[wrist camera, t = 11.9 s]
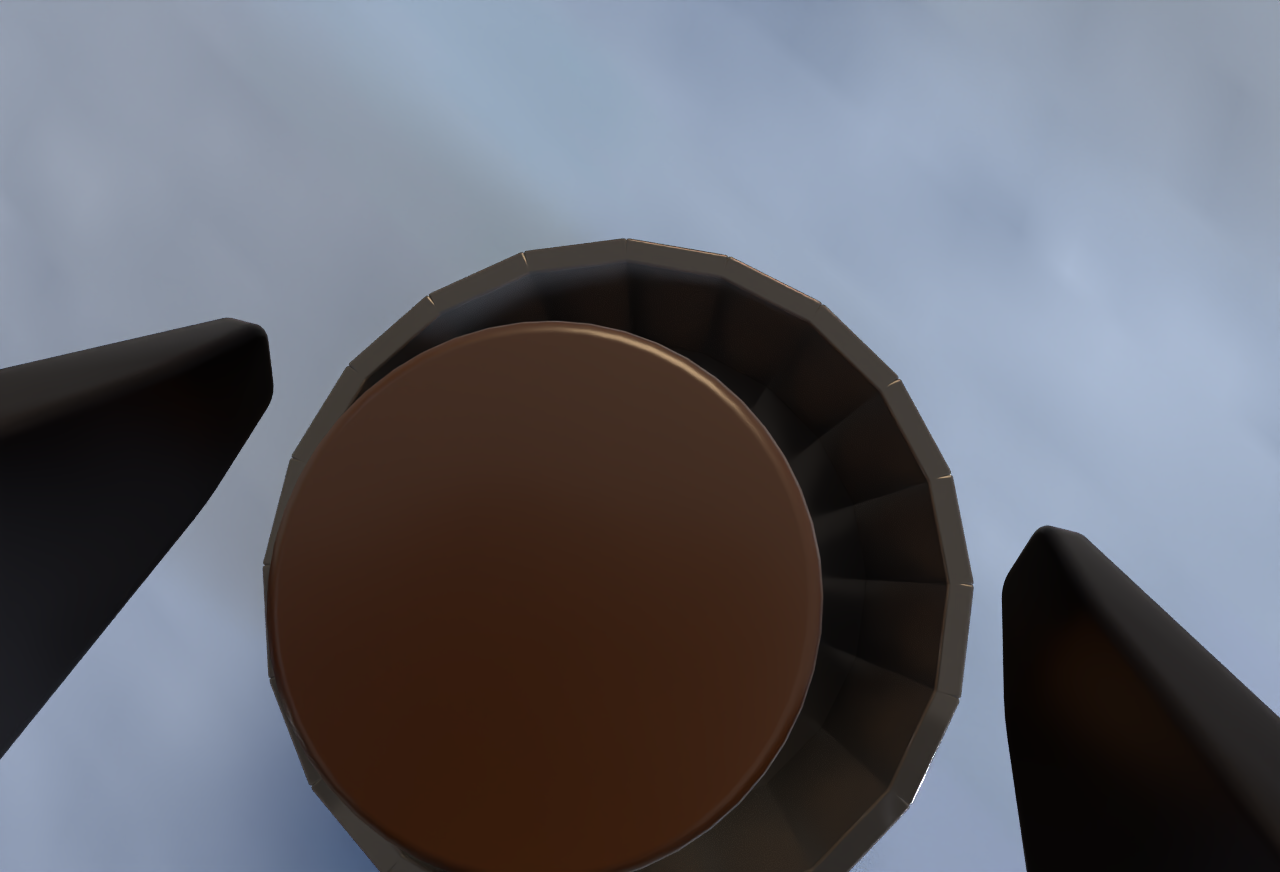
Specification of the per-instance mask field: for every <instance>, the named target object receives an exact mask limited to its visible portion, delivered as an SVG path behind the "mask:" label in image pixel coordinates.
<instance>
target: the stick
mask: <svg viewBox="0 0 1280 872" xmlns="http://www.w3.org/2000/svg"><path fill="white" fill-rule="evenodd" d="M822 612H823V585H822V572H821V559H820V554H819V549H818V544H817V539H816V535H815V530H814V525H813V521H812V518H811V516H810V513H809V510H808V507H807V504H806V501H805V498H804V495H803V492H802V489H801V487H800V485H799V483H798V481H797V479H796V477H795V475H794V473H793V471H792V469H791V467H790V465H789V463H788V461H787V459H786V457H785V455H784V454H783V452H782V451H781V449H780V448H779V446H778V445H777V443H776V442H775V440H774V439H773V437H772V436H771V434H770V433H769V431H768V430H767V429H766V427H765V426H764V425H763V424H762V423H761V421H760V420H759V419H758V418H757V417H756V416H755V414H754V413H753V412H752V411H751V410H750V409H749V408H748V406H747V405H746V404H745V403H744V402H743V401H742V400H741V399H740V398H739V397H738V396H737V395H735V394H734V393H733V392H732V391H731V390H730V389H729V388H728V387H726V386H725V385H724V384H723V383H722V382H721V381H720V380H719V379H717V378H716V377H715V376H713V375H712V374H710V373H709V372H707V371H706V370H704V369H703V368H702V367H700V366H699V365H697V364H696V363H694V362H693V361H691V360H690V359H688V358H686V357H685V356H683V355H681V354H679V353H677V352H675V351H673V350H671V349H669V348H667V347H665V346H663V345H661V344H659V343H657V342H654V341H651V340H648V339H646V338H643V337H640V336H637V335H634V334H631V333H629V332H626V331H622V330H617V329H613V328H608V327H603V326H599V325H594V324H587V323H576V322H564V321H541V322H521V323H515V324H509V325H503V326H497V327H491V328H486V329H483V330H480V331H476V332H473V333H470V334H466V335H463V336H460V337H456V338H454V339H452V340H449V341H447V342H445V343H442V344H440V345H438V346H436V347H433V348H431V349H429V350H427V351H424V352H422V353H421V354H419V355H417V356H416V357H414V358H412V359H411V360H409V361H407V362H406V363H404V364H402V365H401V366H399V367H397V368H396V369H394V370H393V371H391V372H390V373H389V374H387V375H386V376H385V377H384V378H382V379H381V380H380V381H378V382H377V383H376V384H375V385H373V386H372V387H371V388H369V389H368V390H367V391H366V392H364V393H363V394H362V395H361V396H360V397H359V398H358V399H357V400H356V401H355V402H354V403H353V404H352V405H351V406H350V407H349V409H348V410H347V411H346V412H345V413H344V414H343V415H342V416H341V417H340V418H339V419H338V420H337V421H336V423H335V424H334V425H333V426H332V428H331V429H330V430H329V432H328V433H327V434H326V435H325V437H324V438H323V439H322V441H321V442H320V443H319V444H318V446H317V447H316V449H315V451H314V452H313V454H312V456H311V457H310V459H309V461H308V462H307V464H306V466H305V467H304V469H303V471H302V472H301V474H300V476H299V478H298V480H297V482H296V484H295V487H294V489H293V491H292V494H291V496H290V498H289V500H288V503H287V505H286V507H285V509H284V513H283V516H282V519H281V523H280V526H279V529H278V533H277V536H276V539H275V543H274V547H273V553H272V559H271V565H270V571H269V577H268V591H267V629H268V640H269V651H270V658H271V662H272V667H273V671H274V675H275V680H276V684H277V689H278V692H279V695H280V698H281V701H282V703H283V706H284V709H285V711H286V714H287V717H288V719H289V722H290V725H291V727H292V729H293V731H294V733H295V735H296V737H297V738H298V740H299V742H300V744H301V746H302V748H303V750H304V752H305V754H306V755H307V757H308V759H309V761H310V762H311V763H312V765H313V766H314V768H315V769H316V770H317V772H318V773H319V775H320V776H321V777H322V779H323V780H324V781H325V783H326V784H327V786H328V787H329V788H330V790H331V791H332V792H333V793H334V794H335V795H336V796H337V797H338V798H339V799H340V800H341V801H342V802H343V803H344V805H345V806H346V807H347V808H348V809H349V810H350V811H351V812H352V813H353V814H354V815H355V816H356V817H357V818H358V819H360V820H361V821H362V822H363V823H365V824H366V825H367V826H368V827H370V828H371V829H372V830H373V831H375V832H376V833H377V834H378V835H380V836H381V837H382V838H384V839H385V840H386V841H388V842H389V843H391V844H393V845H395V846H396V847H398V848H400V849H401V850H403V851H405V852H407V853H408V854H410V855H412V856H413V857H415V858H417V859H418V860H420V861H423V862H425V863H428V864H430V865H433V866H435V867H438V868H440V869H442V870H445V871H447V872H633V871H636V870H639V869H642V868H645V867H647V866H649V865H651V864H653V863H655V862H657V861H659V860H661V859H663V858H665V857H667V856H669V855H671V854H673V853H675V852H677V851H679V850H681V849H682V848H684V847H685V846H687V845H688V844H690V843H691V842H693V841H694V840H696V839H697V838H699V837H700V836H702V835H703V834H705V833H706V832H708V831H709V830H711V829H712V828H713V827H714V826H715V825H716V824H717V823H718V822H720V821H721V820H722V819H723V818H724V817H725V816H726V815H727V814H729V813H730V812H731V811H732V810H733V809H734V808H735V807H736V806H738V805H739V804H740V803H741V802H742V800H743V799H744V798H745V797H746V796H747V795H748V793H749V792H750V791H751V790H752V789H753V788H754V786H755V785H756V784H757V783H758V782H759V781H760V779H761V778H762V777H763V776H764V775H765V773H766V772H767V770H768V769H769V767H770V766H771V764H772V763H773V761H774V760H775V758H776V757H777V755H778V753H779V752H780V750H781V749H782V747H783V746H784V744H785V743H786V741H787V739H788V737H789V735H790V733H791V730H792V728H793V726H794V724H795V722H796V720H797V718H798V716H799V714H800V712H801V709H802V707H803V704H804V701H805V698H806V695H807V692H808V689H809V686H810V683H811V680H812V677H813V674H814V670H815V665H816V659H817V654H818V649H819V643H820V638H821V630H822Z"/></svg>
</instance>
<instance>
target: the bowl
mask: <svg viewBox="0 0 1280 872" xmlns="http://www.w3.org/2000/svg"><path fill="white" fill-rule="evenodd" d="M541 321H564V322H576V323H587V324H594V325H599V326H603V327H608V328H613V329H617V330H622V331H626V332H629V333H631V334H634V335H637V336H640V337H643V338H646V339H648V340H651V341H654V342H657V343H659V344H661V345H663V346H665V347H667V348H669V349H671V350H673V351H675V352H677V353H679V354H681V355H683V356H685V357H686V358H688V359H690V360H691V361H693V362H694V363H696V364H697V365H699V366H700V367H702V368H703V369H704V370H706V371H707V372H709V373H710V374H712V375H713V376H715V377H716V378H717V379H719V380H720V381H721V382H722V383H723V384H724V385H725V386H726V387H728V388H729V389H730V390H731V391H732V392H733V393H734V394H735V395H737V396H738V397H739V398H740V399H741V400H742V401H743V402H744V403H745V404H746V405H747V406H748V408H749V409H750V410H751V411H752V412H753V413H754V414H755V416H756V417H757V418H758V419H759V420H760V421H761V423H762V424H763V425H764V426H765V427H766V429H767V430H768V431H769V433H770V434H771V436H772V437H773V439H774V440H775V442H776V443H777V445H778V446H779V448H780V449H781V451H782V452H783V454H784V455H785V457H786V459H787V461H788V463H789V465H790V467H791V469H792V471H793V473H794V475H795V477H796V479H797V481H798V483H799V485H800V487H801V489H802V492H803V495H804V498H805V501H806V504H807V507H808V510H809V513H810V516H811V518H812V521H813V525H814V530H815V535H816V539H817V544H818V549H819V554H820V559H821V572H822V585H823V612H822V630H821V638H820V643H819V649H818V654H817V659H816V665H815V670H814V674H813V677H812V680H811V683H810V686H809V689H808V692H807V695H806V698H805V701H804V704H803V707H802V709H801V712H800V714H799V716H798V718H797V720H796V722H795V724H794V726H793V728H792V730H791V733H790V735H789V737H788V739H787V741H786V743H785V744H784V746H783V747H782V749H781V750H780V752H779V753H778V755H777V757H776V758H775V760H774V761H773V763H772V764H771V766H770V767H769V769H768V770H767V772H766V773H765V775H764V776H763V777H762V778H761V779H760V781H759V782H758V783H757V784H756V785H755V786H754V788H753V789H752V790H751V791H750V792H749V793H748V795H747V796H746V797H745V798H744V799H743V800H742V802H741V803H740V804H739V805H738V806H736V807H735V808H734V809H733V810H732V811H731V812H730V813H729V814H727V815H726V816H725V817H724V818H723V819H722V820H721V821H720V822H718V823H717V824H716V825H715V826H714V827H713V828H712V829H711V830H709V831H708V832H706V833H705V834H703V835H702V836H700V837H699V838H697V839H696V840H694V841H693V842H691V843H690V844H688V845H687V846H685V847H684V848H682V849H681V850H679V851H677V852H675V853H673V854H671V855H669V856H667V857H665V858H663V859H661V860H659V861H657V862H655V863H653V864H651V865H649V866H647V867H645V868H642V869H639V870H636V871H633V872H849V871H850V870H851V869H852V868H853V867H854V866H855V865H856V864H857V863H858V862H859V861H860V860H861V859H862V857H863V856H864V855H865V854H866V853H867V852H868V851H869V850H870V849H871V848H872V847H873V846H874V845H875V844H876V843H877V842H878V841H879V840H880V838H881V837H882V836H883V835H884V834H885V833H886V832H887V831H888V830H889V829H890V828H891V827H892V826H893V825H894V824H895V823H896V822H897V821H898V820H899V818H900V817H901V816H902V815H903V814H904V813H905V812H906V811H907V810H908V809H909V807H910V806H909V805H911V804H912V803H913V801H914V799H915V797H916V795H917V792H918V790H919V788H920V786H921V784H922V782H923V780H924V777H925V775H926V773H927V771H928V769H929V767H930V764H931V762H932V760H933V758H934V756H935V754H936V751H937V749H938V747H939V745H940V743H941V741H942V738H943V736H944V734H945V732H946V730H947V728H948V726H949V723H950V721H951V719H952V717H953V715H954V713H955V710H956V708H957V706H958V704H959V699H958V698H960V697H961V692H962V683H963V675H964V666H965V658H966V649H967V641H968V632H969V624H970V615H971V607H972V598H973V590H974V587H973V585H972V584H973V577H972V572H971V567H970V561H969V556H968V551H967V546H966V541H965V536H964V531H963V526H962V521H961V516H960V510H959V505H958V500H957V495H956V490H955V485H954V480H953V476H952V475H950V474H951V471H950V469H949V467H948V465H947V463H946V462H945V460H944V458H943V456H942V454H941V452H940V451H939V449H938V447H937V445H936V443H935V441H934V440H933V438H932V436H931V434H930V432H929V430H928V429H927V427H926V425H925V423H924V421H923V419H922V418H921V416H920V414H919V412H918V410H917V408H916V407H915V405H914V403H913V401H912V399H911V397H910V396H909V394H908V392H907V390H906V388H905V386H904V384H903V383H902V381H901V380H900V379H898V375H896V374H895V373H894V372H893V371H892V370H891V369H890V368H889V367H888V366H887V365H886V364H885V363H884V362H883V361H882V360H881V359H880V358H879V357H878V356H877V355H876V354H875V353H874V352H873V351H872V350H871V349H870V348H869V347H868V346H867V345H866V344H864V343H863V342H862V341H861V340H860V339H859V338H858V337H857V336H856V335H855V334H854V333H853V332H852V331H851V330H850V329H849V328H848V327H847V326H846V325H845V324H844V323H843V322H842V321H841V320H840V319H839V318H838V317H837V316H836V315H835V314H833V313H832V312H831V311H830V310H829V309H828V308H827V307H826V306H825V305H822V303H821V302H819V301H817V300H816V299H814V298H812V297H810V296H808V295H806V294H804V293H802V292H800V291H798V290H796V289H794V288H792V287H790V286H788V285H786V284H784V283H782V282H780V281H778V280H776V279H774V278H772V277H770V276H768V275H766V274H764V273H762V272H760V271H758V270H756V269H754V268H752V267H750V266H748V265H746V264H744V263H742V262H741V261H739V260H737V259H735V258H733V257H729V258H728V256H727V255H722V254H716V253H711V252H705V251H699V250H693V249H687V248H681V247H676V246H670V245H664V244H658V243H652V242H646V241H641V240H635V239H627V240H626V239H624V238H623V239H615V240H607V241H600V242H592V243H584V244H576V245H568V246H561V247H553V248H545V249H537V250H530V251H525V252H524V253H523V252H521V253H518V254H516V255H514V256H512V257H510V258H507V259H505V260H503V261H501V262H499V263H496V264H494V265H492V266H490V267H487V268H485V269H483V270H481V271H479V272H476V273H474V274H472V275H470V276H468V277H465V278H463V279H461V280H459V281H456V282H454V283H452V284H450V285H448V286H445V287H443V288H441V289H439V290H437V291H434V292H432V293H430V294H429V296H425V297H424V298H423V299H422V300H421V301H420V302H419V303H417V304H416V305H415V306H414V307H413V308H412V309H411V310H409V311H408V312H407V313H406V314H405V315H404V316H403V317H401V318H400V319H399V320H398V321H397V322H396V323H395V324H393V325H392V326H391V327H390V328H389V329H388V330H387V331H386V332H384V333H383V334H382V335H381V336H380V337H379V338H378V339H376V340H375V341H374V342H373V343H372V344H371V345H370V346H368V347H367V348H366V349H365V350H364V351H363V352H362V353H360V354H359V355H358V356H357V357H356V358H355V359H354V360H353V361H351V362H350V363H349V366H347V367H346V368H345V370H344V371H343V373H342V375H341V376H340V378H339V380H338V381H337V383H336V384H335V386H334V388H333V389H332V391H331V393H330V394H329V396H328V397H327V399H326V401H325V402H324V404H323V405H322V407H321V409H320V410H319V412H318V414H317V415H316V417H315V418H314V420H313V422H312V423H311V425H310V427H309V428H308V430H307V431H306V433H305V435H304V436H303V438H302V440H301V441H300V443H299V444H298V446H297V448H296V449H295V451H294V452H293V454H292V458H291V459H290V461H289V465H288V469H287V473H286V476H285V480H284V484H283V488H282V492H281V496H280V500H279V504H278V507H277V511H276V515H275V519H274V523H273V527H272V531H271V534H270V538H269V542H268V546H267V550H266V554H265V558H264V562H263V564H264V565H265V566H263V583H264V602H265V621H266V640H267V659H268V676H269V678H271V679H270V684H271V686H272V689H273V692H274V694H275V697H276V699H277V702H278V705H279V707H280V710H281V712H282V715H283V718H284V720H285V723H286V726H287V728H288V731H289V733H290V736H291V739H292V741H293V744H294V746H295V749H296V752H297V754H298V757H299V759H300V762H301V765H302V767H303V770H304V772H305V775H306V778H307V780H308V783H309V785H312V787H311V788H312V790H313V791H314V792H315V794H316V795H317V796H318V797H319V798H320V800H321V801H322V802H323V803H324V805H325V806H326V807H327V808H328V809H329V811H330V812H331V813H332V814H333V815H334V817H335V818H336V819H337V820H338V821H339V823H340V824H341V825H342V826H343V828H344V829H345V830H346V831H347V832H348V834H349V835H350V836H351V837H352V838H353V840H354V841H355V842H356V843H357V844H358V846H359V847H360V848H361V849H362V851H363V852H364V853H365V854H366V855H367V857H368V858H369V859H370V860H371V861H372V863H373V864H374V865H375V866H376V868H377V869H378V870H379V871H380V872H447V871H445V870H442V869H440V868H438V867H435V866H433V865H430V864H428V863H425V862H423V861H420V860H418V859H417V858H415V857H413V856H412V855H410V854H408V853H407V852H405V851H403V850H401V849H400V848H398V847H396V846H395V845H393V844H391V843H389V842H388V841H386V840H385V839H384V838H382V837H381V836H380V835H378V834H377V833H376V832H375V831H373V830H372V829H371V828H370V827H368V826H367V825H366V824H365V823H363V822H362V821H361V820H360V819H358V818H357V817H356V816H355V815H354V814H353V813H352V812H351V811H350V810H349V809H348V808H347V807H346V806H345V805H344V803H343V802H342V801H341V800H340V799H339V798H338V797H337V796H336V795H335V794H334V793H333V792H332V791H331V790H330V788H329V787H328V786H327V784H326V783H325V781H324V780H323V779H322V777H321V776H320V775H319V773H318V772H317V770H316V769H315V768H314V766H313V765H312V763H311V762H310V761H309V759H308V757H307V755H306V754H305V752H304V750H303V748H302V746H301V744H300V742H299V740H298V738H297V737H296V735H295V733H294V731H293V729H292V727H291V725H290V722H289V719H288V717H287V714H286V711H285V709H284V706H283V703H282V701H281V698H280V695H279V692H278V689H277V684H276V680H275V675H274V671H273V667H272V662H271V658H270V651H269V640H268V629H267V591H268V577H269V571H270V565H271V559H272V553H273V547H274V543H275V539H276V536H277V533H278V529H279V526H280V523H281V519H282V516H283V513H284V509H285V507H286V505H287V503H288V500H289V498H290V496H291V494H292V491H293V489H294V487H295V484H296V482H297V480H298V478H299V476H300V474H301V472H302V471H303V469H304V467H305V466H306V464H307V462H308V461H309V459H310V457H311V456H312V454H313V452H314V451H315V449H316V447H317V446H318V444H319V443H320V442H321V441H322V439H323V438H324V437H325V435H326V434H327V433H328V432H329V430H330V429H331V428H332V426H333V425H334V424H335V423H336V421H337V420H338V419H339V418H340V417H341V416H342V415H343V414H344V413H345V412H346V411H347V410H348V409H349V407H350V406H351V405H352V404H353V403H354V402H355V401H356V400H357V399H358V398H359V397H360V396H361V395H362V394H363V393H364V392H366V391H367V390H368V389H369V388H371V387H372V386H373V385H375V384H376V383H377V382H378V381H380V380H381V379H382V378H384V377H385V376H386V375H387V374H389V373H390V372H391V371H393V370H394V369H396V368H397V367H399V366H401V365H402V364H404V363H406V362H407V361H409V360H411V359H412V358H414V357H416V356H417V355H419V354H421V353H422V352H424V351H427V350H429V349H431V348H433V347H436V346H438V345H440V344H442V343H445V342H447V341H449V340H452V339H454V338H456V337H460V336H463V335H466V334H470V333H473V332H476V331H480V330H483V329H486V328H491V327H497V326H503V325H509V324H515V323H521V322H541Z"/></svg>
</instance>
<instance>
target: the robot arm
mask: <svg viewBox="0 0 1280 872" xmlns="http://www.w3.org/2000/svg"><path fill="white" fill-rule="evenodd" d="M272 395H273V376H272V368H271V359H270V351H269V342H268V337H267V334H266V332H265V330H264V329H263V328H262V327H261V326H259V325H257V324H253V323H249V322H245V321H241V320H237V319H233V318H221V319H217V320H213V321H208V322H204V323H200V324H195V325H191V326H187V327H182V328H178V329H173V330H169V331H165V332H160V333H156V334H152V335H147V336H143V337H139V338H134V339H130V340H125V341H121V342H117V343H112V344H108V345H104V346H99V347H95V348H91V349H86V350H82V351H78V352H73V353H69V354H64V355H60V356H56V357H51V358H47V359H43V360H38V361H34V362H30V363H25V364H21V365H16V366H12V367H8V368H3V369H0V759H1V758H2V757H3V755H4V754H5V753H6V752H7V750H8V749H9V748H10V747H11V745H12V744H13V743H14V742H15V741H16V739H17V738H18V737H19V736H20V734H21V733H22V732H23V731H24V729H25V728H26V727H27V726H28V724H29V723H30V722H31V721H32V719H33V718H34V717H35V716H36V715H37V713H38V712H39V711H40V710H41V708H42V707H43V706H44V705H45V703H46V702H47V701H48V700H49V698H50V697H51V696H52V695H53V693H54V692H55V691H56V690H57V688H58V687H59V686H60V685H61V684H62V682H63V681H64V680H65V679H66V677H67V676H68V675H69V674H70V672H71V671H72V670H73V669H74V667H75V666H76V665H77V664H78V662H79V661H80V660H81V659H82V658H83V656H84V655H85V654H86V653H87V651H88V650H89V649H90V648H91V646H92V645H93V644H94V643H95V641H96V640H97V639H98V638H99V636H100V635H101V634H102V633H103V631H104V630H105V629H106V628H107V627H108V625H109V624H110V623H111V622H112V620H113V619H114V618H115V617H116V615H117V614H118V613H119V612H120V610H121V609H122V608H123V607H124V605H125V604H126V603H127V602H128V601H129V599H130V598H131V597H132V596H133V594H134V593H135V592H136V591H137V589H138V588H139V587H140V586H141V584H142V583H143V582H144V581H145V579H146V578H147V577H148V576H149V574H150V573H151V572H152V571H153V570H154V568H155V567H156V566H157V565H158V563H159V562H160V561H161V560H162V558H163V557H164V556H165V555H166V553H167V552H168V551H169V550H170V548H171V547H172V546H173V545H174V544H175V542H176V541H177V540H178V539H179V537H180V536H181V535H182V534H183V532H184V531H185V530H186V529H187V527H188V526H189V525H190V524H191V522H192V521H193V520H194V519H195V517H196V516H197V515H198V513H199V512H200V511H201V509H202V508H203V507H204V505H205V504H206V503H207V501H208V500H209V498H210V497H211V496H212V494H213V493H214V491H215V490H216V488H217V487H218V485H219V484H220V482H221V480H222V479H223V477H224V476H225V474H226V472H227V471H228V469H229V468H230V466H231V465H232V463H233V461H234V460H235V458H236V457H237V455H238V454H239V452H240V450H241V449H242V447H243V446H244V444H245V442H246V441H247V439H248V438H249V436H250V435H251V433H252V431H253V430H254V428H255V427H256V425H257V423H258V422H259V420H260V419H261V417H262V416H263V414H264V412H265V411H266V409H267V408H268V406H269V404H270V401H271V399H272ZM1002 628H1003V677H1004V707H1005V721H1006V730H1007V738H1008V745H1009V752H1010V759H1011V766H1012V773H1013V780H1014V787H1015V794H1016V801H1017V807H1018V814H1019V821H1020V828H1021V835H1022V842H1023V849H1024V856H1025V863H1026V870H1027V872H1280V718H1279V717H1278V716H1277V715H1276V714H1275V713H1274V712H1273V711H1272V710H1271V709H1270V708H1269V707H1268V706H1267V705H1265V704H1264V703H1263V702H1262V701H1261V700H1260V699H1259V698H1258V697H1257V696H1256V695H1255V694H1254V693H1253V692H1251V691H1250V690H1249V689H1248V688H1247V687H1246V686H1245V685H1244V684H1243V683H1242V682H1241V681H1240V680H1239V679H1237V678H1236V677H1235V676H1234V675H1233V674H1232V673H1231V672H1230V671H1229V670H1228V669H1227V668H1226V667H1225V666H1223V665H1222V664H1221V663H1220V662H1219V661H1218V660H1217V659H1216V658H1215V657H1214V656H1213V655H1212V654H1211V653H1209V652H1208V651H1207V650H1206V649H1205V648H1204V647H1203V646H1202V645H1201V644H1200V643H1199V642H1198V641H1197V640H1196V639H1194V638H1193V637H1192V636H1191V635H1190V634H1189V633H1188V632H1187V631H1186V630H1185V629H1184V628H1183V627H1182V626H1180V625H1179V624H1178V623H1177V622H1176V621H1175V620H1174V619H1173V618H1172V617H1171V616H1170V615H1169V614H1168V613H1166V612H1165V611H1164V610H1163V609H1162V608H1161V607H1160V606H1159V605H1158V604H1157V603H1156V602H1155V601H1154V600H1153V599H1151V598H1150V597H1149V596H1148V595H1147V594H1146V593H1145V592H1144V591H1143V590H1142V589H1141V588H1140V587H1139V586H1137V585H1136V584H1135V583H1134V582H1133V581H1132V580H1131V579H1130V578H1129V577H1128V576H1127V575H1126V574H1125V573H1124V572H1122V571H1121V570H1120V569H1119V568H1118V567H1117V566H1116V565H1115V564H1114V563H1113V562H1112V561H1111V560H1110V559H1108V558H1107V557H1106V556H1105V555H1104V554H1103V553H1102V552H1101V551H1100V550H1099V549H1098V548H1097V547H1096V546H1094V545H1093V544H1092V543H1091V542H1090V541H1089V540H1088V539H1087V538H1086V537H1085V536H1083V535H1082V534H1079V533H1077V532H1073V531H1069V530H1065V529H1061V528H1057V527H1053V526H1048V525H1047V526H1043V527H1040V528H1039V529H1038V530H1036V531H1035V533H1034V534H1033V535H1032V537H1031V538H1030V540H1029V541H1028V543H1027V545H1026V546H1025V548H1024V549H1023V551H1022V552H1021V554H1020V556H1019V557H1018V559H1017V560H1016V562H1015V563H1014V565H1013V567H1012V568H1011V570H1010V571H1009V573H1008V575H1007V577H1006V579H1005V582H1004V585H1003V590H1002Z"/></svg>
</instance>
